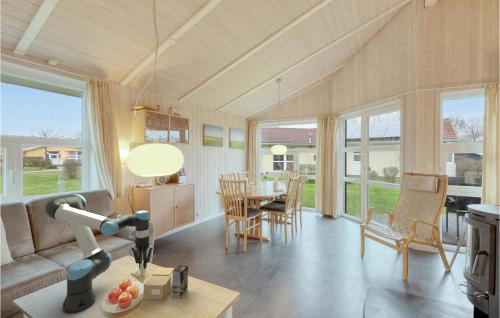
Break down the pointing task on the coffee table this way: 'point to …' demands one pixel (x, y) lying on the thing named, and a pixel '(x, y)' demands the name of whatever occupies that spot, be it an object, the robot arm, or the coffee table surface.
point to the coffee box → (180, 281)
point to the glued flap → (140, 277)
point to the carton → (158, 284)
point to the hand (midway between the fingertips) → (142, 273)
